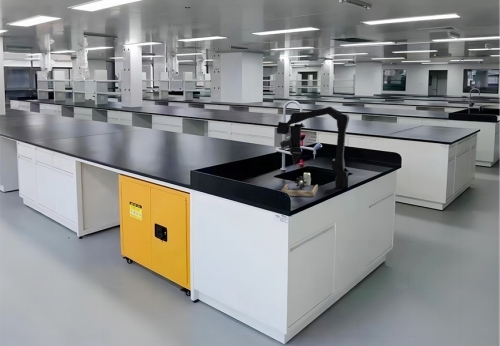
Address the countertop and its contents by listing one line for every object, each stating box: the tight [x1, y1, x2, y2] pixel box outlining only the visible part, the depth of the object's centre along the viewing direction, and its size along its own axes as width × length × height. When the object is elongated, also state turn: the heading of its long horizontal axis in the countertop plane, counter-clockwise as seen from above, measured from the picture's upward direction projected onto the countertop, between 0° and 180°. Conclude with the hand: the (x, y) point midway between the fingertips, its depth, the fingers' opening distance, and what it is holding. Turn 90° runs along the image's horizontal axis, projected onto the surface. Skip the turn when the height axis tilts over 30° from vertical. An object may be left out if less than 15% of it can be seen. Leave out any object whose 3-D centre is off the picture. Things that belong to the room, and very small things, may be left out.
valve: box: [294, 172, 312, 189], centre depth 239 cm, size 7×7×12 cm
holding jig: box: [279, 183, 319, 197], centre depth 225 cm, size 17×16×2 cm
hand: (294, 163), depth 240 cm, fingers open, 9 cm apart
